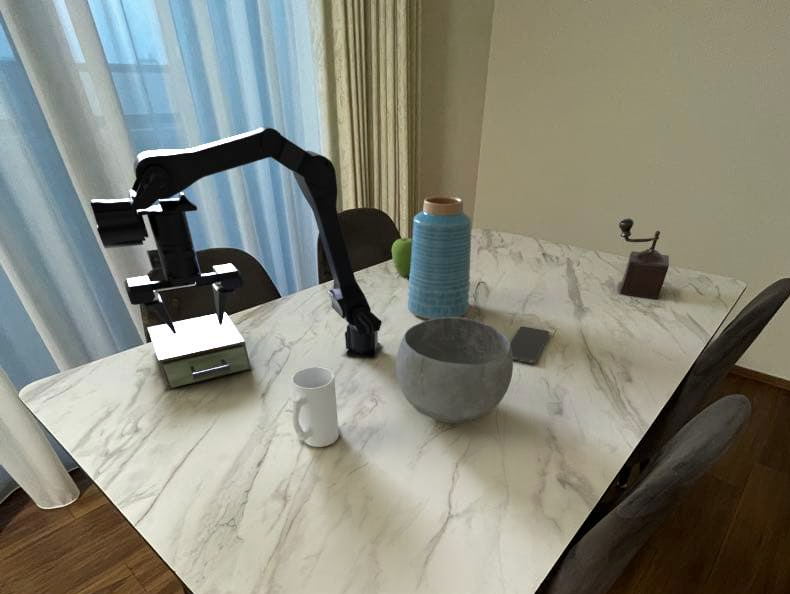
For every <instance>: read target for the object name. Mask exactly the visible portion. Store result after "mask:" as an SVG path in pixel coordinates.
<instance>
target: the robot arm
mask: <svg viewBox="0 0 790 594" xmlns="http://www.w3.org/2000/svg"><path fill="white" fill-rule="evenodd" d="M268 158H271V159H273V160H274V161H276V162H277V163H279V164H281V165H282V166H283V167H285V168H287V169H288V170H289V171H291V172H292V174H293V177H294V179H295V181H296V183H297V185H298V187H299V189H300V191H301V193H302V196H304V198H305V200H306V202H307V203H308V205H309V207H310V208H311V210H312V212H313V216H314V220H315V223H316V226H317V229H318V234H319V236H320V240H321V242H322V246H323V250H324V253H325V256H326V260H327V263H328V266H329V269H330V272H331V273H330V274H331V276H332V280H333V287H332V289H330V290H327V294H328V296H329V299H330V301H331V309H332V310H334V311H335V312H336V313H337V314H338V315H339V316H340V318H342V319H343V320H345V321H346V322H347V323H348V324H347V325H346V330H345V332H344V340H345V341H344V342H345V349H346V350H347V351H346V354H345V355H346V356H349V357H361V358H372V359H373V358H375V357H376V355H377V352H378V351H379V348H380V346H381V344H380V342H379V335H378V333H379V331H380V329H381V326H382V323H383V321H382V320H381V319H380V318H378V316H377V315H375V314H374V312H372V311H371V306H370V304H369V302H368V300H367V297H366V295H365V293H364V291H363V290H362V288H361V286H360V285H359V283H358V281H357V280H356V277H355V272H354V269H353V265H352V261H351V257H350V253H349V250H348V247H347V246H348V245H347V243H346V239H345V236H344V231H343V228H342V224H341V219H340V216H339V213H338V208H337V204H338V203H337V202H338V183H337V173H336V169H335V166H334V164H333V162H332V161H331V160H330V159H329V158H327V157H326V156H324V155H323V154H319V153H317V152H314V151H312V150H304V149H303V148H302V147H300V146H299V145H297V144H295V143H294V142H292V141H291V140H289V139H288V138H286V137H285V136H284V135H282V134H281V132H279V131H278V130H277V129H274V128H273V127H270V126H267V125H262V126H260V127H257V129H255V130H252V131H248V132H244V133H241V134H237V135H234V136H231V137H227V138H223V139H220V140H216V141H213V142H209V143H205V144H202V145H198V146H196V147H192V148H185V149H184V148H183V149H156V150H146V151H142V152H141V153H138V155H136V156H135V159H134V163H133V172H134V175H135V180H134V182H133V185H132V187H131V189H130V190H129V194H128V198H120V199H119V198H117V199H99V198H98V199H91V200H90V207H91V210H92V213H93V217H94V219H95V223H96V231H97V233H98V236H99V238H100V241H101V243H102V246H103V247H104V249H107V250H108V249H115V248H116V249H117V248H124V247H134V246H143V245H144V242H145V241H147V240H146V238H150V236H149V233H148V229H147V226H146V222H145V219H144V216H146V217H147V219H148V222H149V226H150V229H151V233H152V236H153V240H154V243H155V247H156V248H154V249H148V250H146V254H147V257H148V260H149V263H150V266H151V267H150V268H151V269H152V270H153V271H154V270H161V271H162V274H163V277H165V279H160V280H154V281H151V280H150V277H149V276H148V275H142V276H135V277H134V276H133V277H126V278H125V280H124V282H123V284H124V288H125V291H126V293H127V297H128V300H129V302H130V304H131V305H133V306H137V305H138V306H139V305H143V306H144V308H147V309H149V308H151V309H152V310H154V311H155V313H156V314H157V315H159V317H160V318H161V319H162V321H164V322H165V324H167V325H168V326H169V328H170V329H171V330H172V332H173V333H174V334H176V330H175V327H174V325H173V320H172V318H171V316H170V314H169V312H168V309H167V308H166V306H165V304H164V301H163V299H162V296H161V295H160V294H161V293H166V292H172V291H179V290H185V289H191V288H198V287H204V286H211V287H212V292H213V297H214V305H215V314H217V319H218V322H219V324H220V325H222V322H223V317H224V312H225V311H226V307H227V304H228V301H229V298H230V295H233V294H235V292H236V291H235V289H240V288H244V287H245V286H244V285H245V283H244V279H243V275H242V273H241V271H240V270H239V269H238V268H237V267H236V266H235V265H234V264H232V263H226V264H219V265H213V266H212V272H208V273H201V269H200V264H199V261H198V257H197V253H196V249H195V245H194V240H193V237H192V234H191V229H190V225H189V222H188V217H187V214H186V212H196V211H197V210H198V207H197V205H196V203H195V202H194V201H192V200H191V199H189V198H188V197H187V196H186V195H185V194H184V192H183V191H185V190H187V189H188V188H189V187H191V186H192V185H193V184H195V183H197V182H198V181H200V180H201V179H204V178H206V177H209V176H213V175H216V174H219V173H222V172H225V171H226V172H227V171H228V170H232V169H235V168H239V167H242V166H245V165H248V164H252V163H255V162H259V161H262V160H265V159H268ZM178 194H179V195H178ZM176 195H178V196H177V197H176V198H173V197H174V196H176ZM157 201H158V202H159V204H158V205H154V204H155V203H156V202H157ZM225 313H226V312H225Z"/></svg>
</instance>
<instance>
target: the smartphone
mask: <svg viewBox="0 0 790 594" xmlns="http://www.w3.org/2000/svg"><path fill="white" fill-rule="evenodd" d="M549 335H550V331H549V330H546V329H540V328H535V327H530V326H524V325H522V326H519V328H518V329H517V331H516V333H515V334H514V336H513V337H512V339H511V341H510V345H511V350H512V355H513V361H517V362H522V363H528V364H535V363H537V360H538V358H539V356H540V354H541V352H542V349H543V348H544V345H545V344H546V342H547V340H548V339H549V338H548V337H549Z"/></svg>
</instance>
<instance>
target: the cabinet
mask: <svg viewBox="0 0 790 594" xmlns="http://www.w3.org/2000/svg"><path fill="white" fill-rule="evenodd" d="M172 323H173V325H174V327H175V330H176V334H174V333H173V332H172V330H171V329H170V328H169V326H168V325H167V324H166V323H163V324H158V325H153V326H147V327H146V329H147V332H148V335H149V337H150V340H151V344H152V346H153V350H154V352H155V355H156V358H157V361H158V364H159V366H160V369H161V373H162V375H163V377H164V380H165V384H166V385H167V389H168V390H172V389H173V390H174V389H177V388H180V387H184V386H188V385H193V384H197V383H201V382H205V381H208V380H212V379H217V378H221V377H224V376H229V375H233V374H236V373H237V374H238V373H240V372H241V373H242V372H244V371H245V372H246V371H248V370H252V367H251V363H250V359H249V355H248V350H247V346H246V345H247V344H246V341H245V339H244V338H243V336H242V335H241V334H240V332H239V331H238V329H237V327H236V326H235V325H234V323H233V322H232V320H231V318H230V317H229V315H228V314H227V313H226V312H224V317H223V322H222V325H220V324H219V322H218V319H217V314H216V313H214V314H209V315H203V316H199V317H193V318H189V319H184V320H179V321H178V320H177V321H172ZM237 346H238V347H240V346H243V347H244V349H245V354H246V358H247V362H248V367H249V369H245V370H241V371H237V372H233V373H229V374H225V375H221V376H217V377H212V378H208V379H204V380H200V381H196V382H192V383H188V384H184V385H180V386H176V387H171V385H170V382H169V379H168V376H167V373H166V371H165V368H164V365H163V364H165V363H167V362H170V361H175V360H179V359H183V358H188V357H192V356H197V355H201V354H206V353H210V352H214V351H219V350H223V349H228V348H232V347H237Z"/></svg>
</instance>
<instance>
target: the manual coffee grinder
mask: <svg viewBox="0 0 790 594" xmlns="http://www.w3.org/2000/svg"><path fill="white" fill-rule="evenodd" d="M633 227H634V220H633V219H632V218H624V219H622V220H621V221H620V222H619V223H618V228H619V230H620V231H621V234H620V237H621V238H623V240H625V242H628V243H648V242H652V244H651V246H650V247H649V248H647V249H645V250H642V251H633V250H631V252H630V254H629V258H628V261H627V263H626V267H625V269H624V272H623V277H622V280H621V283H620V286H619V293H620V295H624V296H629V297H637V298H642V299H643V298H644V299H652V300H658V299H659V297H660V294H661V291H662V288H663V285H664V282H665V279H666V276H667V273H668V270H669V266H670V256H669V255H668V254H663V253H662V254H661V252H659V251H658V250H656V245H657V241H658V240H659V239H660V234H661V231H660V230H656V231H655V233H654V236H653V237H649V238H630V236H632V232H631V230H632V228H633Z"/></svg>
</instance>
